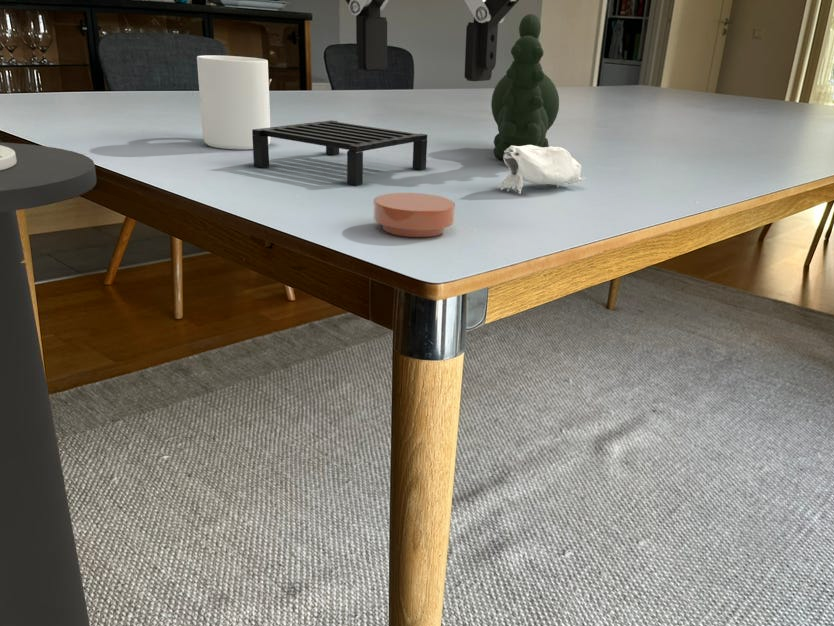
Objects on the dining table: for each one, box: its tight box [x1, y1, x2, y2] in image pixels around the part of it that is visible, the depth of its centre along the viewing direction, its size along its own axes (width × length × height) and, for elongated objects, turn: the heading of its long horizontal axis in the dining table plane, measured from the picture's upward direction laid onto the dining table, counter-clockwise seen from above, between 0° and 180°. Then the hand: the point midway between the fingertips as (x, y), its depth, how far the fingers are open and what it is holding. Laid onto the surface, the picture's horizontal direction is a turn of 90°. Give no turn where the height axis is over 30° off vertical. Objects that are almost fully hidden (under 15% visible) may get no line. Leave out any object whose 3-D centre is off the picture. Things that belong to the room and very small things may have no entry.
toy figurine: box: [490, 13, 560, 161], centre depth 101 cm, size 9×19×25 cm
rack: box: [252, 119, 428, 186], centre depth 88 cm, size 14×14×4 cm
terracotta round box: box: [373, 192, 456, 238], centre depth 65 cm, size 7×7×2 cm
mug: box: [196, 54, 272, 151], centre depth 97 cm, size 12×8×10 cm
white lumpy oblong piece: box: [499, 145, 587, 195], centre depth 84 cm, size 5×7×10 cm
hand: (423, 75), depth 60 cm, fingers open, 9 cm apart
